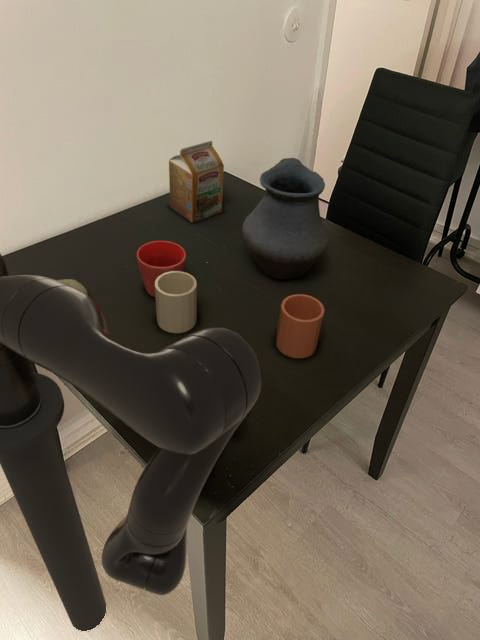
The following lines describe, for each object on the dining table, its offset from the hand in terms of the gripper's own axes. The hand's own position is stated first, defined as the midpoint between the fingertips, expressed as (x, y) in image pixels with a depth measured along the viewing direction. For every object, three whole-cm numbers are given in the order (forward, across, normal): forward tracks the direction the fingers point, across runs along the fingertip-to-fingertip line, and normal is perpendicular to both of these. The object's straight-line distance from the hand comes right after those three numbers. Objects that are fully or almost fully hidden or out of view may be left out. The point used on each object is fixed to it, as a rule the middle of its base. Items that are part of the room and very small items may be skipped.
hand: (214, 371), depth 89 cm
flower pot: (+28, +20, +7) cm, 35 cm away
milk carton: (+66, +23, +7) cm, 70 cm away
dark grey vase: (+46, -5, +7) cm, 46 cm away
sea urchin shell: (+17, +38, +7) cm, 42 cm away
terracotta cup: (+19, -13, +7) cm, 24 cm away
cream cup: (+19, +13, +7) cm, 24 cm away
